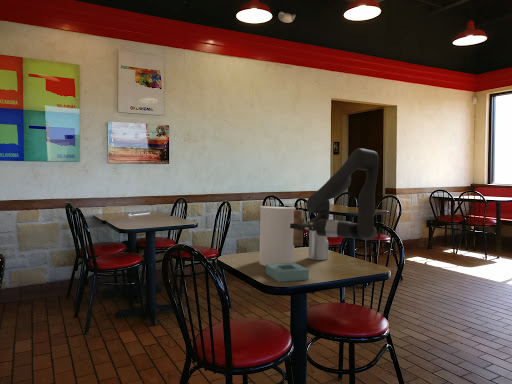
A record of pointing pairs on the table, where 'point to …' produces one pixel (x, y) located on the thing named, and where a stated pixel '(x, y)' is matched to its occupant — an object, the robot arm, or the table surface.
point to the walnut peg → (297, 233)
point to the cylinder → (276, 235)
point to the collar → (287, 272)
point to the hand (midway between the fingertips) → (292, 225)
